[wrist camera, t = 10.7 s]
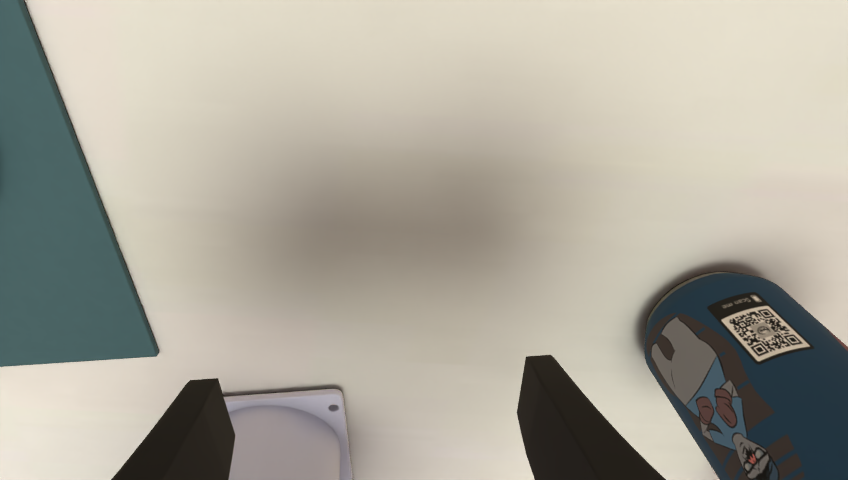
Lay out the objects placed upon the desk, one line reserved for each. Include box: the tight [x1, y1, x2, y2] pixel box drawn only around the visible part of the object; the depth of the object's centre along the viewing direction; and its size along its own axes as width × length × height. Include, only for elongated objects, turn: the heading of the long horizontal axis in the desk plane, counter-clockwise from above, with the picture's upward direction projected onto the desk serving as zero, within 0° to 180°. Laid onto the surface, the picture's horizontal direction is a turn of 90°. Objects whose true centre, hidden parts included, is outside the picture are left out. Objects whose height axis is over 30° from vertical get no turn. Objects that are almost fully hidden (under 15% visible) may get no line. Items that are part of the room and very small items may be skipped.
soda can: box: [644, 272, 848, 480], centre depth 20 cm, size 7×7×12 cm
